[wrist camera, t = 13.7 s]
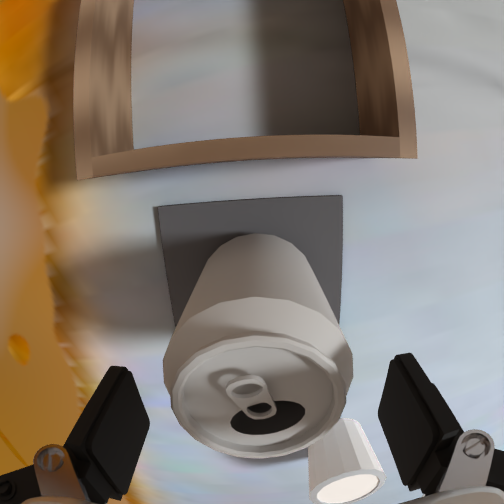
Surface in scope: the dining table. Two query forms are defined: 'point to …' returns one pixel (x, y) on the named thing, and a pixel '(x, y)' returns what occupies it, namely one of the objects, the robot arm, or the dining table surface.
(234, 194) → the dining table surface
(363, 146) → the crate
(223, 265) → the can
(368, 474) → the shot glass
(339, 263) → the mat
